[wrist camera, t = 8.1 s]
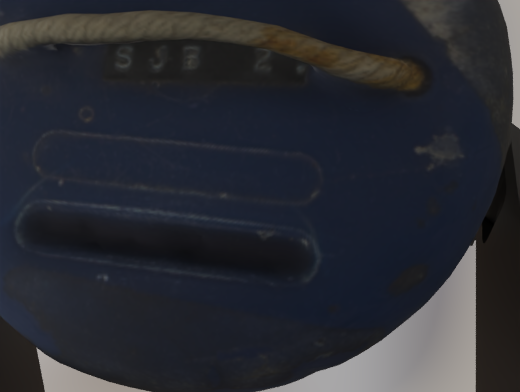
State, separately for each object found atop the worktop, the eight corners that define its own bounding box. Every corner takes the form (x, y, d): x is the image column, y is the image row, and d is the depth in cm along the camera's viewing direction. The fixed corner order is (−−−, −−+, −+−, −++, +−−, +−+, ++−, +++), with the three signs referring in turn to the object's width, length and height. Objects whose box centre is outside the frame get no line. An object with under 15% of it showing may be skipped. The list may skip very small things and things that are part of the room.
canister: (228, 111, 23) (-7, -378, 5) (372, 160, 21) (741, -279, 4) (169, 253, 22) (-383, 255, 4) (317, 314, 20) (465, 730, 3)
